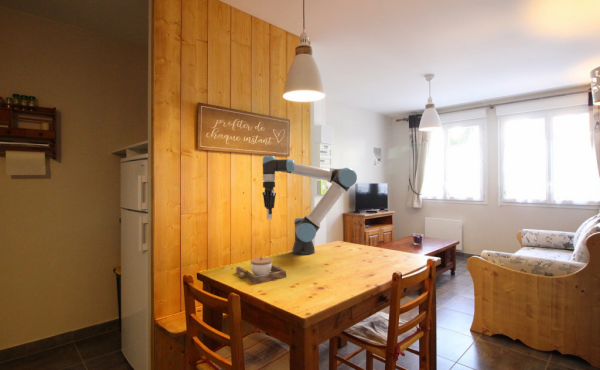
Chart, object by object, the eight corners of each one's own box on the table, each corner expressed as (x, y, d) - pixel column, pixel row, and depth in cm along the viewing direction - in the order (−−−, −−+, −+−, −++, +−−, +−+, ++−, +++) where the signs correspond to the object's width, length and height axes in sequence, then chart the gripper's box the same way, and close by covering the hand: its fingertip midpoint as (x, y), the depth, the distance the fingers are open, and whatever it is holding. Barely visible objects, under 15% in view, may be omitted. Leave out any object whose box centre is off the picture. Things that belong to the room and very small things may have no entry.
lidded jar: (269, 279, 146) (268, 260, 146) (248, 278, 148) (247, 259, 148) (274, 272, 157) (274, 254, 157) (254, 271, 158) (254, 254, 158)
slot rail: (268, 266, 168) (268, 260, 168) (290, 275, 151) (290, 269, 150) (231, 273, 155) (231, 267, 155) (250, 285, 138) (250, 278, 138)
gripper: (258, 181, 187) (259, 218, 187) (269, 181, 176) (269, 220, 177) (268, 181, 191) (269, 217, 192) (279, 181, 181) (280, 219, 181)
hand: (269, 219), depth 184 cm, fingers closed
